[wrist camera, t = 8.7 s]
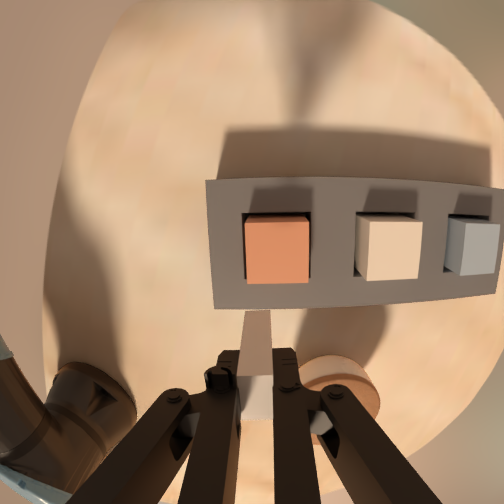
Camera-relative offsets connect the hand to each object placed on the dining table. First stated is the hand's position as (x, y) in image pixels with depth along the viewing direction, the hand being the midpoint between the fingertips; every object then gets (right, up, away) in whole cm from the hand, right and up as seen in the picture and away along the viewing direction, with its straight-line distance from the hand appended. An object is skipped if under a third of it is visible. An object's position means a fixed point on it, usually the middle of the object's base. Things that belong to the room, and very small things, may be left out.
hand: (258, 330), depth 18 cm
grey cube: (+22, +6, +9) cm, 25 cm away
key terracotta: (+2, +6, +11) cm, 12 cm away
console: (+12, +7, +12) cm, 19 cm away
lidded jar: (+9, -11, +17) cm, 22 cm away
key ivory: (+12, +6, +10) cm, 17 cm away
